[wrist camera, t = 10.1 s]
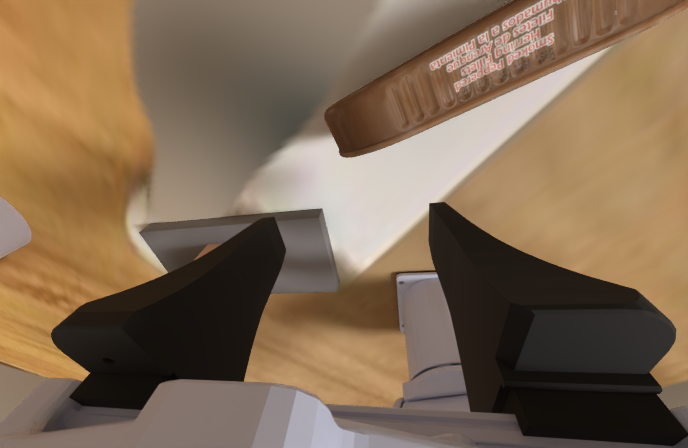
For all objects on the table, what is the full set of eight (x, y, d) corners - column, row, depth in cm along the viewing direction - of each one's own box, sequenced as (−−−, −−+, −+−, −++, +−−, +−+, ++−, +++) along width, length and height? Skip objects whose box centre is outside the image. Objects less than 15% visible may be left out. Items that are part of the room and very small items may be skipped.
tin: (349, 137, 19) (333, 186, 12) (329, 95, 17) (297, 123, 10) (595, 16, 14) (815, -23, 7) (594, -58, 12) (872, -199, 5)
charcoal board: (339, 280, 27) (337, 291, 26) (192, 286, 30) (185, 295, 29) (322, 208, 22) (319, 217, 21) (150, 223, 26) (139, 232, 24)
